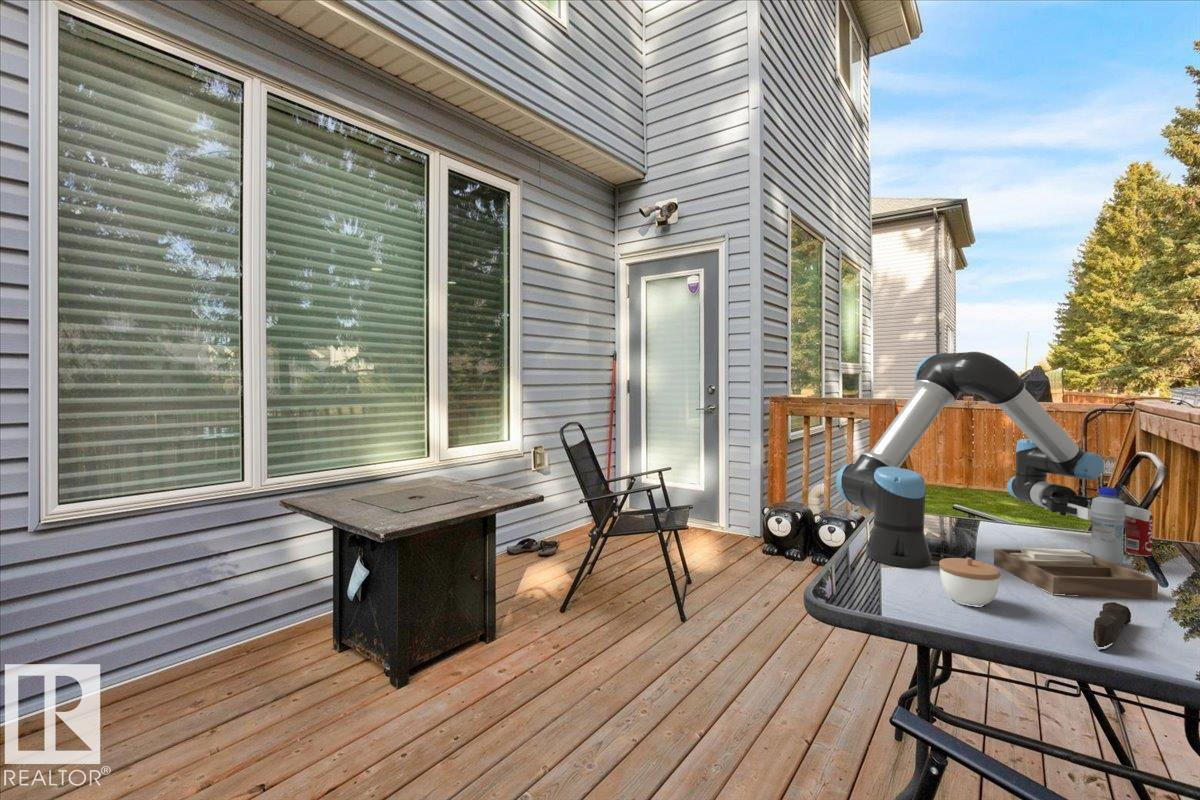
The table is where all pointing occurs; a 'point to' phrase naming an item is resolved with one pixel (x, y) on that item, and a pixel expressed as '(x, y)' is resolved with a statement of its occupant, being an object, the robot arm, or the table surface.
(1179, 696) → the table surface
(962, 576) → the lidded jar
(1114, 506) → the bottle
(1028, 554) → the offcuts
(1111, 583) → the tray
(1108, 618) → the dark brown lumpy bar
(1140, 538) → the soda can
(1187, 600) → the table surface
